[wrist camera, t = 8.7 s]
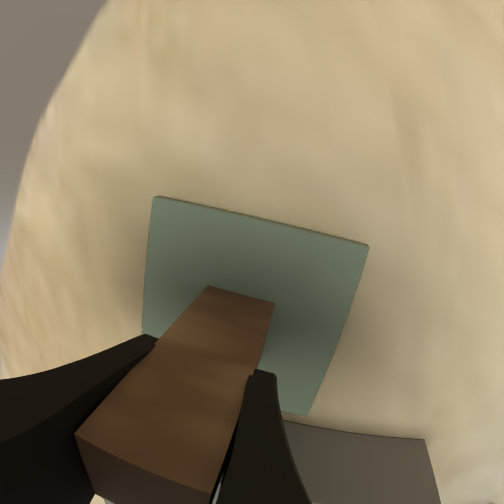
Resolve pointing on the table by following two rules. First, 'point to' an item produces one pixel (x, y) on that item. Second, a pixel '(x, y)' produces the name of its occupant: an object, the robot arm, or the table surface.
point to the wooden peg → (178, 406)
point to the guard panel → (359, 467)
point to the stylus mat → (256, 284)
